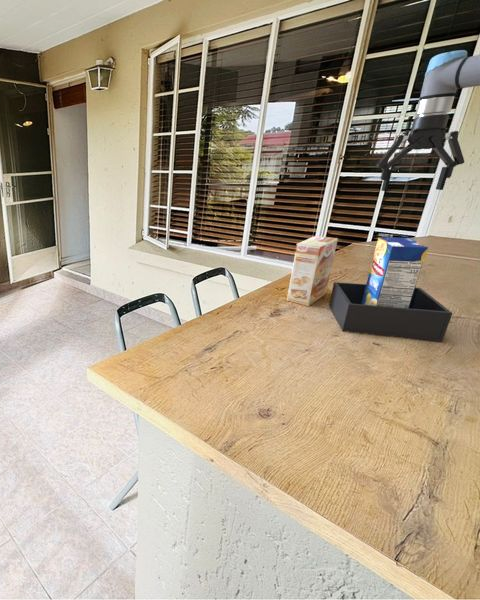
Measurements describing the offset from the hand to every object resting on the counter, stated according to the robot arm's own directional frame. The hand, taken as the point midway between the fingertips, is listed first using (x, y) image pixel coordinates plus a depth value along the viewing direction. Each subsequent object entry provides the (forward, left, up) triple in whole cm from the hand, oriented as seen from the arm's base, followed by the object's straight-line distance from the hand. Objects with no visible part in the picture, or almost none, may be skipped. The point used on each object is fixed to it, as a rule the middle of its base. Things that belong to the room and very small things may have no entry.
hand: (410, 190), depth 111 cm
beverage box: (+10, +33, -32) cm, 47 cm away
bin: (+10, +33, -33) cm, 47 cm away
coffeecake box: (+26, +18, -33) cm, 45 cm away
